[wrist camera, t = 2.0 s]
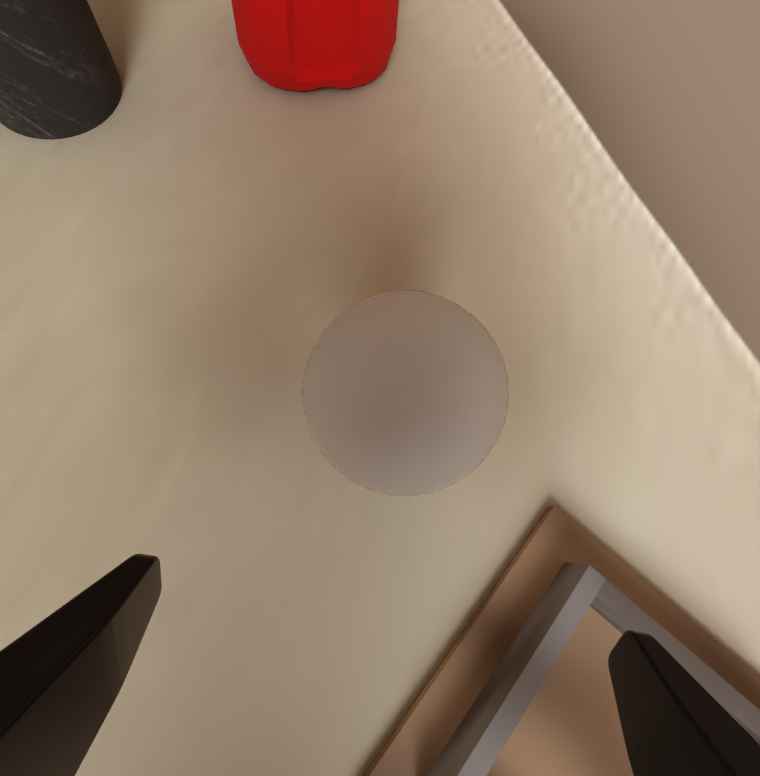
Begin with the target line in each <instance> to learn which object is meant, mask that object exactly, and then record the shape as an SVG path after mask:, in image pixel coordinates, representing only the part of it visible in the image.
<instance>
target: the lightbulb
mask: <svg viewBox="0 0 760 776" xmlns="http://www.w3.org/2000/svg"><path fill="white" fill-rule="evenodd" d="M302 393H303V403H304V412H305V416H306V419H307V422H308V425H309V429H310V432H311V435H312V437H313V439H314V440H315V442H316V444H317V446H318V447H319V449H320V451H321V453H322V454H323V455H324V456H325V457H326V458H327V460H328V461H329V462H330V463H331V464H332V465H333V467H334V468H335V469H337V470H338V471H339V472H341V473H342V474H343V475H345V476H346V477H347V478H348V479H350V480H351V481H353V482H355V483H357V484H359V485H361V486H363V487H365V488H367V489H369V490H373V491H377V492H380V493H384V494H388V495H400V496H414V495H420V494H427V493H432V492H434V491H437V490H440V489H442V488H445V487H448V486H450V485H453V484H455V483H456V482H458V481H459V480H461V479H463V478H464V477H466V476H467V475H469V474H470V473H471V472H472V471H473V470H474V469H475V468H476V467H477V466H479V465H480V464H481V463H482V462H483V461H484V459H485V458H486V456H487V455H488V453H489V452H490V450H491V449H492V447H493V446H494V444H495V443H496V441H497V439H498V437H499V435H500V432H501V429H502V427H503V424H504V422H505V418H506V411H507V405H508V377H507V373H506V369H505V364H504V360H503V358H502V355H501V353H500V351H499V349H498V347H497V344H496V342H495V341H494V340H493V338H492V337H491V335H490V334H489V332H488V331H487V330H486V328H485V327H484V326H483V325H482V324H481V323H480V322H479V321H478V320H477V319H476V318H475V317H474V316H473V315H472V314H470V313H469V312H467V311H466V310H465V309H463V308H462V307H460V306H459V305H457V304H455V303H453V302H451V301H449V300H447V299H445V298H442V297H440V296H436V295H433V294H429V293H425V292H419V291H408V290H401V291H389V292H384V293H380V294H377V295H373V296H369V297H367V298H365V299H363V300H361V301H359V302H357V303H355V304H353V305H352V306H350V307H349V308H348V309H347V310H345V311H344V312H343V313H341V314H340V315H339V316H337V317H336V318H335V319H334V320H333V321H332V322H331V323H330V324H329V326H328V327H327V328H326V329H325V330H324V331H323V332H322V334H321V336H320V337H319V339H318V341H317V343H316V344H315V346H314V348H313V350H312V352H311V354H310V357H309V360H308V363H307V367H306V370H305V373H304V382H303V391H302Z"/></svg>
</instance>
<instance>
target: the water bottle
mask: <svg viewBox="0 0 760 776" xmlns="http://www.w3.org/2000/svg"><path fill="white" fill-rule="evenodd" d="M398 5H399V0H232V6H233V12H234V18H235V24H236V30H237V36H238V41H239V45H240V47H241V49H242V51H243V53H244V55H245V57H246V59H247V61H248V63H249V65H250V66H251V68H252V70H253V72H254V74H256V75H257V76H259V77H260V78H262V79H263V80H264V81H266V82H267V83H269V84H270V85H272V86H275V87H278V88H281V89H284V90H292V91H308V90H313V89H318V88H322V87H330V88H346V89H348V88H353V87H357V86H361V85H363V84H366V83H368V82H370V81H373V80H374V79H375V78H376V77H377V76H378V75H379V74H381V73H382V72H383V71H384V70H385V69H386V66H387V63H388V60H389V57H390V55H391V52H392V49H393V46H394V43H395V41H396V29H397V17H398Z"/></svg>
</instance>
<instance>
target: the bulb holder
mask: <svg viewBox="0 0 760 776" xmlns="http://www.w3.org/2000/svg"><path fill="white" fill-rule="evenodd" d="M627 630H634V631H641V632H646V633H648V634H650V635H652V636H653V637H654V638H655V639H656V640H657V641H658V642H659V643H660V644H661V645H662V646H663V647H664V648H665V649H666V650H667V651H668V652H669V653H670V654H671V655H672V656H673V657H674V658H675V659H676V660H677V661H678V662H679V663H680V664H681V665H682V666H683V667H684V668H685V669H686V670H687V671H688V672H689V673H690V674H691V675H692V676H693V677H694V678H695V679H696V680H697V681H698V682H699V683H700V684H701V685H702V686H703V687H704V688H705V689H706V690H707V691H708V693H709V694H710V695H711V696H712V697H713V698H714V699H715V700H716V701H717V702H718V703H719V704H720V705H721V706H722V707H723V708H724V709H725V710H726V711H727V712H728V713H729V714H730V715H731V716H732V717H733V718H734V719H735V720H736V721H737V722H738V723H739V724H740V725H741V726H742V727H743V728H744V729H745V730H746V731H747V732H748V733H749V734H750V735H751V736H752V737H753V738H754V739H755V740H756V741H757V742H758V743H759V744H760V678H759V677H758V676H757V675H756V674H755V673H753V672H752V671H751V670H750V669H749V668H747V667H746V666H745V665H744V664H743V663H742V662H740V661H739V660H738V659H737V658H736V657H734V656H733V655H732V654H731V653H730V652H728V651H727V650H726V649H725V648H724V647H722V646H721V645H720V644H719V643H718V642H717V641H715V640H714V639H713V638H712V637H711V636H709V635H708V634H707V633H706V632H705V631H703V630H702V629H701V628H700V627H699V626H697V625H696V624H695V623H694V622H693V621H692V620H690V619H689V618H688V617H687V616H686V615H684V614H683V613H682V612H681V611H680V610H678V609H677V608H676V607H675V606H674V605H672V604H671V603H670V602H669V601H668V600H667V599H665V598H664V597H663V596H662V595H661V594H659V593H658V592H657V591H656V590H655V589H653V588H652V587H651V586H650V585H649V584H647V583H646V582H645V581H644V580H643V579H642V578H640V577H639V576H638V575H637V574H636V573H634V572H633V571H632V570H631V569H630V568H628V567H627V566H626V565H625V564H624V563H622V562H621V561H620V560H619V559H618V558H617V557H615V556H614V555H613V554H612V553H611V552H609V551H608V550H607V549H606V548H605V547H603V546H602V545H601V544H600V543H599V542H597V541H596V540H595V539H594V538H593V537H592V536H590V535H589V534H588V533H587V532H586V531H584V530H583V529H582V528H581V527H580V526H578V525H577V524H576V523H575V522H574V521H572V520H571V519H570V518H569V517H568V516H567V515H565V514H564V513H563V512H562V511H561V510H559V509H558V508H557V507H556V506H550V507H549V508H548V510H547V511H546V513H545V514H544V516H543V517H542V519H541V520H540V521H539V523H538V524H537V526H536V527H535V529H534V530H533V532H532V533H531V534H530V536H529V537H528V539H527V540H526V542H525V543H524V545H523V546H522V547H521V549H520V550H519V552H518V553H517V555H516V556H515V558H514V559H513V560H512V562H511V563H510V565H509V566H508V568H507V569H506V571H505V572H504V574H503V575H502V576H501V578H500V579H499V581H498V582H497V584H496V585H495V587H494V588H493V589H492V591H491V592H490V594H489V595H488V597H487V598H486V600H485V601H484V602H483V604H482V605H481V607H480V608H479V610H478V611H477V613H476V614H475V616H474V617H473V618H472V620H471V621H470V623H469V624H468V626H467V627H466V629H465V630H464V631H463V633H462V634H461V636H460V637H459V639H458V640H457V642H456V643H455V644H454V646H453V647H452V649H451V650H450V652H449V653H448V655H447V656H446V657H445V659H444V660H443V662H442V663H441V665H440V666H439V668H438V669H437V671H436V672H435V673H434V675H433V676H432V678H431V679H430V681H429V682H428V684H427V685H426V686H425V688H424V689H423V691H422V692H421V694H420V695H419V697H418V698H417V699H416V701H415V702H414V704H413V705H412V707H411V708H410V710H409V711H408V713H407V714H406V715H405V717H404V718H403V720H402V721H401V723H400V724H399V726H398V727H397V728H396V730H395V731H394V733H393V734H392V736H391V737H390V739H389V740H388V741H387V743H386V744H385V746H384V747H383V749H382V750H381V752H380V753H379V754H378V756H377V757H376V759H375V760H374V762H373V763H372V765H371V766H370V768H369V769H368V770H367V772H366V773H365V775H364V776H634V775H633V772H632V768H631V765H630V761H629V758H628V754H627V750H626V746H625V741H624V737H623V732H622V728H621V723H620V718H619V714H618V709H617V705H616V700H615V695H614V691H613V686H612V682H611V677H610V672H609V667H608V657H609V654H610V652H611V650H612V649H613V648H614V646H615V645H616V643H617V642H618V640H619V639H620V637H621V636H622V634H623V633H624V632H625V631H627Z"/></svg>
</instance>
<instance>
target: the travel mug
mask: <svg viewBox="0 0 760 776" xmlns="http://www.w3.org/2000/svg"><path fill="white" fill-rule="evenodd" d="M120 96H121V81H120V77H119V74H118V71H117V69H116V66H115V64H114V62H113V59H112V57H111V54H110V52H109V50H108V47H107V45H106V43H105V41H104V38H103V36H102V34H101V31H100V29H99V27H98V25H97V22H96V20H95V18H94V16H93V13H92V11H91V9H90V6H89V4H88V2H87V0H0V122H1V123H2V124H3V125H4V126H6V127H7V128H9V129H10V130H12V131H14V132H16V133H19V134H21V135H24V136H28V137H33V138H39V139H60V138H66V137H71V136H75V135H79V134H81V133H84V132H87V131H89V130H91V129H93V128H94V127H96V126H98V125H99V124H101V123H102V122H103V121H104V120H106V119H107V118H108V117H109V116H110V115H111V114H112V112H113V111H114V109H115V108H116V106H117V104H118V102H119V99H120Z"/></svg>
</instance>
